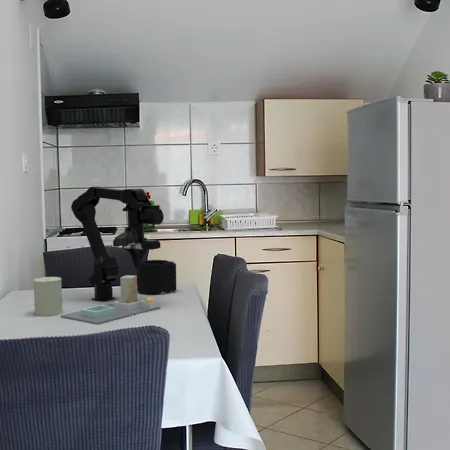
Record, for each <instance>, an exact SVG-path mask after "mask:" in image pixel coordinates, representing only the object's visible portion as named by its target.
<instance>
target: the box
mask: <svg viewBox="0 0 450 450" xmlns="http://www.w3.org/2000/svg"><path fill="white" fill-rule="evenodd" d="M137 299H138V291H137V275H132V274H131V275H129V274H126V275H123V276H121V277H120V300H121V303H127V304H129V303H133V302H137Z"/></svg>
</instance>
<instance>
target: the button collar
mask: <svg viewBox="0 0 450 450" xmlns="http://www.w3.org/2000/svg"><path fill="white" fill-rule="evenodd" d="M153 301H154V302H152V303H148V302H146V300H145V301H143V302H141V308H146V309H153V308H157V307H160V304H159V303H160V301H159V300H154V299H153Z"/></svg>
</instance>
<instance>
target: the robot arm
mask: <svg viewBox="0 0 450 450" xmlns="http://www.w3.org/2000/svg"><path fill="white" fill-rule="evenodd" d="M146 194H147V193H146V192H145V190H144V189H143V188H128V189H127V188H126V189H118V188H117V189H116V188H110V187H101V186H90V187H88V189H87V190H86V191H84V193H81V194H80V195H79V196H78V197H77V198H76V199H74V200H73V201H72V203H71V205H70V209H71V211H72V214H74V217H75V218H76V219H77V220H78V221H79V222H80V223H81V224H82V227H83V230H84V233H85V235H86V237H87V241H88V244H89V246H90V249H91V252H92V254H93V257H94V258H93V259H94V262H93V271H94V272H93V273H92V274H91V276H90V277H89V279H88V280H89V283H90V285H93V286H94V287H93V288H94V290H93V291H94V297H91V300H92V301H97V302H105V301H106V302H107V301H110V300H111V301H112V300H115V299H116V297H115V296H113V294H114V293H113V282H116V279H117V276H118V275H119V265H118V263H117V259H116V257H115V256H110V255H109V254H108V251H107V249H106V246H105V243H104V241H103V238H102V236H101V232H100V230H99V227H98V224H97V222H96V213H97V210H96V207H97V205H99V202H100V200H101V199H108V200H114V201H119V202H121V203H123V204H125V206H124V208H122V212H127V226H125V227H124V231H123V232H122V233H120V234H118V235H116V236H115V237H114V239H113V241H112V247H115V248H120V247H124V248H123V249H124V250H125V251H127V252H128V253H129V255H130V257H131V259H132V263H133V265H134V268H136V269H137V268H138V267H139V266H140V263H141V261H143V258H145V254H146V253H147V251H149V250H154V249H161V241H160V240H159V239H148V238H147V237H145V230H147V226H145V225H154V226H155V225H157V226H158V225H161V224H162V223H163V221H164V215H165V214H164V213H163V210H162V209H161V208H160V207H161V206H160V205H159V204H155V205H154V204H152V202H151V201H150V200H149V198H148V197H147V195H146Z"/></svg>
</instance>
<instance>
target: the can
mask: <svg viewBox="0 0 450 450" xmlns="http://www.w3.org/2000/svg"><path fill="white" fill-rule="evenodd" d="M32 280H33V291H34V292H33V294H34V295H33V296H34V297H33V298H34V300H33V301H34V313H33V314H34V315H35V316H39V317H49V316H51V317H52V316H57V315H60V314H61V315H62V313H63V312H64V310H63V297H62V296H63V294H62V293H63V292H62V277H59V276H45V277H38V278H34V279H32Z"/></svg>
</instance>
